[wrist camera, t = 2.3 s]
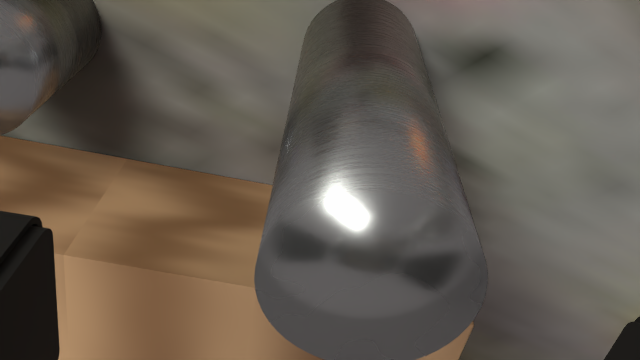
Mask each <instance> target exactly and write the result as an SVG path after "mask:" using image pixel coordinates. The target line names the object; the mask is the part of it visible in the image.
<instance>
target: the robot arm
mask: <svg viewBox="0 0 640 360" xmlns="http://www.w3.org/2000/svg"><path fill="white" fill-rule="evenodd" d="M59 351H60V347H59V330H58V312H57V295H56V277H55V260H54V243H53V232H52V230H51V229H49V228H44V227H43V226H42V222H41V220H40V218H39V217H36V216H30V215H24V214H18V213H11V212H5V211H0V360H58V359H59ZM604 360H640V317H638V318H637V319H636V320H635V321H634V322H630V323H628V324H627V325H626V326H625V327H624V329H623V330H622V332H621V334H620V335H619V337H618V338H617V340H616V342H615V343H614V345H613V346H612V348H611V350H610V351H609V353H608V354H607V356H606V357H605V359H604Z"/></svg>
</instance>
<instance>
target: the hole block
mask: <svg viewBox="0 0 640 360" xmlns="http://www.w3.org/2000/svg"><path fill="white" fill-rule="evenodd" d="M272 186H273V185H268V184H262V183H257V182H251V181H246V180H240V179H235V178H229V177H224V176H219V175H213V174H208V173H202V172H197V171H191V170H186V169H180V168H175V167H169V166H164V165H158V164H153V163H147V162H142V161H136V160H131V159H125V158H120V157H114V156H109V155H104V154H98V153H93V152H87V151H82V150H76V149H71V148H65V147H60V146H54V145H49V144H43V143H38V142H32V141H27V140H21V139H16V138H10V137H5V136H0V211H5V212H11V213H18V214H24V215H30V216H36V217H39V218H40V220H41V222H42V226H43V227H44V228H49V229H51V230H52V232H53V243H54V260H55V277H56V295H57V312H58V330H59V347H60V351H59V359H58V360H325V359H322V358H319V357H316V356H314V355H312V354H309V353H307V352H305V351H303V350H302V349H300V348H298V347H296V346H295V345H293V344H292V343H291V342H289V341H288V340H286V339H285V338H284V337H283V336H282V335H281V334H280V333H279V332H277V331H276V329H275V328H274V327H273V326H272V325H271V323H270V322H269V321H268V319H267V318H266V316H265V315H264V313H263V311H262V309H261V307H260V305H259V302H258V299H257V295H256V291H255V283H254V275H255V265H256V261H257V256H258V251H259V247H260V242H261V237H262V233H263V228H264V223H265V219H266V214H267V209H268V205H269V200H270V195H271V191H272ZM473 327H474V323H473V321H472V322H471V324H470V325H469V326H468V327H467V328H466V329H465V330H464V331H463V332H462V333H461V334H460V335H459V336H458V337H457V338H456V339H454V340H453V341H452V342H450V343H449V344H448V345H446V346H444V347H443V348H441V349H439V350H438V351H435V352H433V353H431V354H429V355H427V356H424V357H422V358H419V359H416V360H458V359H459V357H460V355H461V353H462V350H463V348H464V346H465V344H466V342H467V340H468V337H469V335H470V333H471V331H472V329H473Z"/></svg>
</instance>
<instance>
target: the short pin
mask: <svg viewBox="0 0 640 360" xmlns="http://www.w3.org/2000/svg"><path fill="white" fill-rule="evenodd" d="M100 39H101V23H100V18H99V14H98V11H97V8H96V6H95V4H94V2H93V0H0V135H2V134H5V133H7V132H10V131H12V130H13V129H15V128H17V127H18V126H19V125H20V124H22V123H23V122H24V121H25V120H26V119H27V118H28V117H29V116H30V115H31V114H33V113H34V112H35V111H36V110H37V109H38V108H39V107H40V106H41V105H42V104H43V103H45V102H46V101H47V100H48V99H49V98H50V97H51V96H52V95H53V94H54V93H56V92H57V91H58V90H59V89H60V88H61V87H62V86H63V85H64V84H65V83H67V82H68V81H69V80H70V79H71V78H72V77H73V76H74V75H75V74H76V73H78V72H79V71H80V70H81V69H82V68H83V67H84V66H85V65H86V64H87V63H88V62H90V60H91V59H92V58H93V57H94V55H95V53H96V52H97V49H98V47H99V44H100Z"/></svg>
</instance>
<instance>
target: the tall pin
mask: <svg viewBox="0 0 640 360" xmlns="http://www.w3.org/2000/svg"><path fill="white" fill-rule="evenodd" d="M254 283H255V291H256V295H257V299H258V302H259V305H260V307H261V309H262V311H263V313H264V315H265V316H266V318H267V319H268V321H269V322H270V323H271V325H272V326H273V327H274V328H275V329H276V331H277V332H279V333H280V334H281V335H282V336H283V337H284V338H285V339H286V340H288V341H289V342H291V343H292V344H293V345H295V346H296V347H298V348H300V349H302V350H303V351H305V352H307V353H309V354H312V355H314V356H316V357H319V358H322V359H325V360H416V359H419V358H422V357H424V356H427V355H429V354H431V353H433V352H435V351H438V350H439V349H441V348H443V347H444V346H446V345H448V344H449V343H450V342H452V341H453V340H454V339H456V338H457V337H458V336H459V335H460V334H461V333H462V332H463V331H464V330H465V329H466V328H467V327H468V326H469V325H470V324H471V322H472V321H473V320H474V318H475V317H476V315H477V314H478V312H479V310H480V308H481V306H482V303H483V301H484V298H485V295H486V289H487V283H488V272H487V266H486V260H485V257H484V254H483V250H482V247H481V244H480V241H479V238H478V234H477V231H476V228H475V225H474V221H473V218H472V215H471V212H470V209H469V205H468V202H467V199H466V196H465V193H464V189H463V186H462V183H461V180H460V177H459V173H458V170H457V167H456V164H455V160H454V157H453V154H452V151H451V148H450V144H449V141H448V138H447V135H446V132H445V128H444V125H443V122H442V119H441V116H440V112H439V109H438V106H437V103H436V99H435V96H434V93H433V90H432V87H431V83H430V80H429V77H428V74H427V71H426V67H425V64H424V61H423V58H422V55H421V51H420V48H419V45H418V42H417V38H416V35H415V32H414V30H413V27H412V25H411V23H410V22H409V20H408V19H407V17H406V16H405V15H404V14H403V13H402V12H401V11H400V10H399V9H398V8H397V7H395V6H394V5H392V4H391V3H389V2H387V1H385V0H337V1H335V2H333V3H331V4H330V5H328V6H327V7H325V8H324V9H323V10H321V11H320V12H319V13H318V14H317V15H316V17H315V18H314V19H313V21H312V22H311V24H310V26H309V27H308V29H307V32H306V34H305V38H304V42H303V46H302V51H301V56H300V60H299V65H298V70H297V74H296V79H295V84H294V88H293V93H292V98H291V102H290V107H289V112H288V116H287V121H286V126H285V130H284V135H283V140H282V144H281V149H280V154H279V158H278V163H277V168H276V172H275V177H274V182H273V186H272V191H271V195H270V200H269V205H268V209H267V214H266V219H265V223H264V228H263V233H262V237H261V242H260V247H259V251H258V256H257V261H256V265H255V275H254Z"/></svg>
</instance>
